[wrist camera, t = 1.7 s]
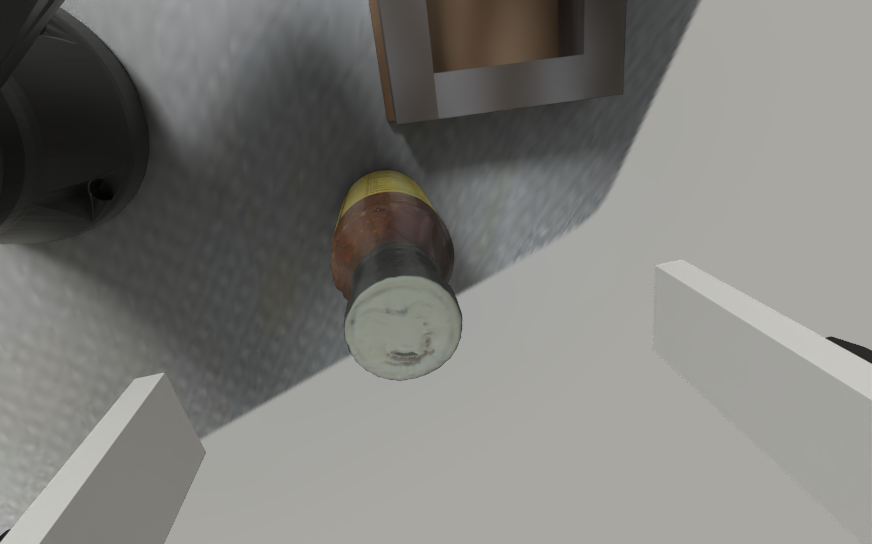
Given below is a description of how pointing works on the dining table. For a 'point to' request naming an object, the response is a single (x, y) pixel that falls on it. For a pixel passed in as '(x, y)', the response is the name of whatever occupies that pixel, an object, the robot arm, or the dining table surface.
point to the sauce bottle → (395, 278)
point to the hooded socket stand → (495, 54)
